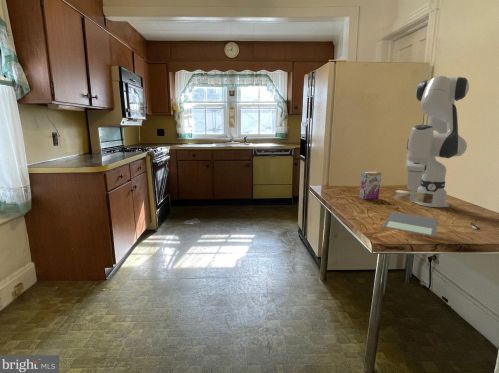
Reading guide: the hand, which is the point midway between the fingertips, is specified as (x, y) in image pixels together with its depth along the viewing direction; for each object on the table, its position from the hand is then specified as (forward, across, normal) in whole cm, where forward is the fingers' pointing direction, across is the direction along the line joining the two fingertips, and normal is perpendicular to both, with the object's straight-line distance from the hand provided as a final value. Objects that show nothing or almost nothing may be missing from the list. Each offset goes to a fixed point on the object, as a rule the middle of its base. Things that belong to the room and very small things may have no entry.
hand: (413, 196), depth 126 cm
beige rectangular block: (+1, 0, 0) cm, 1 cm away
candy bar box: (+14, -48, -27) cm, 57 cm away
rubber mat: (+14, -8, 0) cm, 16 cm away
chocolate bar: (+15, -25, +19) cm, 35 cm away
